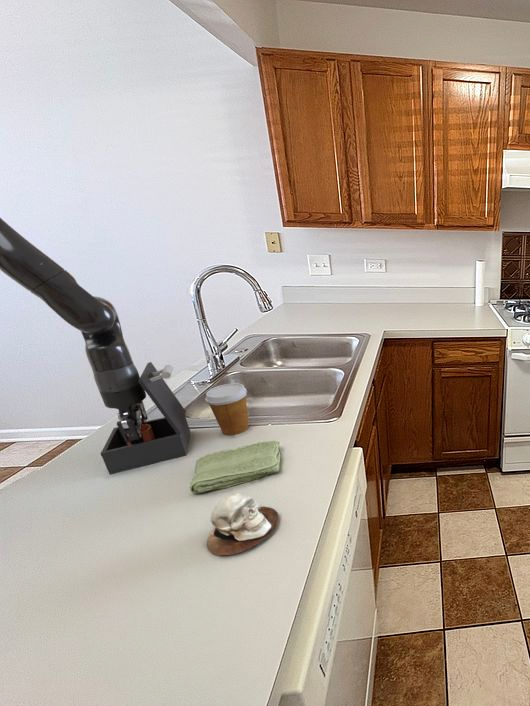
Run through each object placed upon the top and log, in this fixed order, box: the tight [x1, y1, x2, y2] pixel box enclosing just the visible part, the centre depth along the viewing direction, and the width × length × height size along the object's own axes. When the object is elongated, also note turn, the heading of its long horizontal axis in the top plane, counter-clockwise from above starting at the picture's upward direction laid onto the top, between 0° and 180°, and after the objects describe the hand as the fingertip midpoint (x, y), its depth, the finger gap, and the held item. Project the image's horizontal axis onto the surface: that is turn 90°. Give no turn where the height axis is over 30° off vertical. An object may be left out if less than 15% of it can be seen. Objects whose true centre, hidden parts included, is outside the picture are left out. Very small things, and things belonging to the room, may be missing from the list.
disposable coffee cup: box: [204, 382, 250, 436], centre depth 107 cm, size 10×10×12 cm
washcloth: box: [189, 440, 281, 494], centre depth 92 cm, size 13×18×3 cm
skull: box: [205, 492, 280, 556], centre depth 74 cm, size 12×10×10 cm
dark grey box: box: [100, 415, 191, 475], centre depth 98 cm, size 15×13×6 cm
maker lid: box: [138, 361, 186, 434], centre depth 97 cm, size 15×13×5 cm
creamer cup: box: [126, 424, 155, 446], centre depth 97 cm, size 5×5×6 cm
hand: (143, 445), depth 98 cm, fingers closed on creamer cup, 5 cm apart
